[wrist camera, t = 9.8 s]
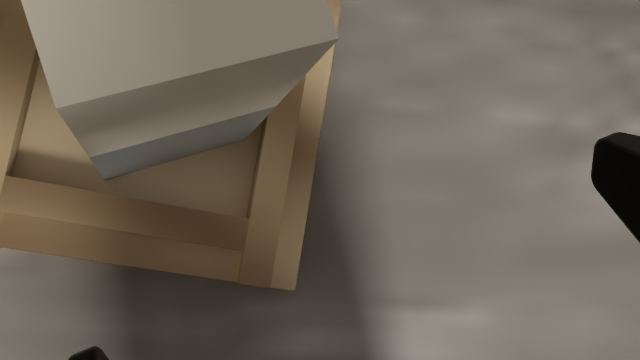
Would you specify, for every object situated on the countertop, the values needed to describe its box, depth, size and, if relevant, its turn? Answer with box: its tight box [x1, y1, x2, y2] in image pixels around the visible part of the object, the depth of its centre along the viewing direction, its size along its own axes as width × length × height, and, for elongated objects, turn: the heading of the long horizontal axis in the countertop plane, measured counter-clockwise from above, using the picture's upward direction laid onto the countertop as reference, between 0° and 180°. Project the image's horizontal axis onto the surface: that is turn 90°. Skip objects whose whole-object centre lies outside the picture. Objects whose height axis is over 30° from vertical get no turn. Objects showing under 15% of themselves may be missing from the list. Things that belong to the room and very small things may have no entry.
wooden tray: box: [0, 0, 342, 291], centre depth 19 cm, size 11×11×2 cm
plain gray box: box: [21, 0, 339, 180], centre depth 14 cm, size 4×4×10 cm
